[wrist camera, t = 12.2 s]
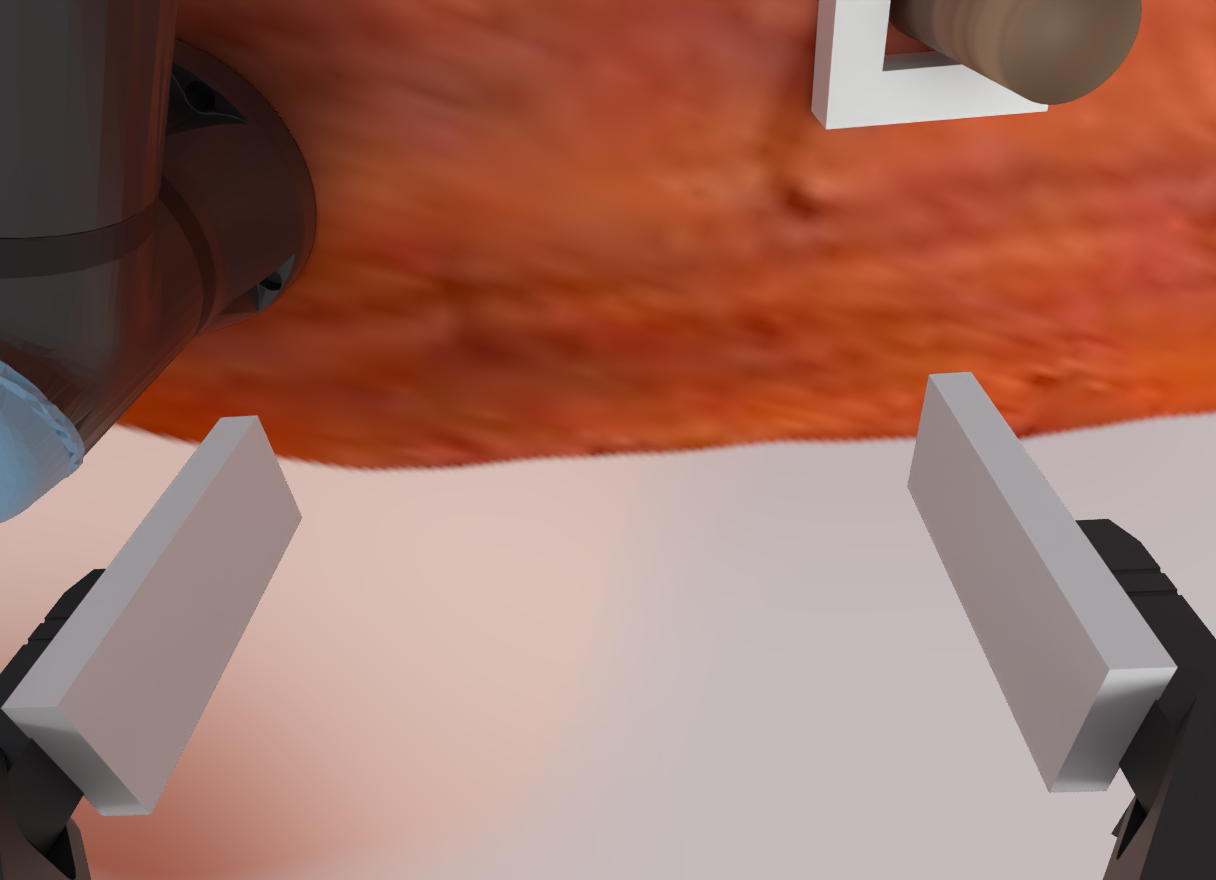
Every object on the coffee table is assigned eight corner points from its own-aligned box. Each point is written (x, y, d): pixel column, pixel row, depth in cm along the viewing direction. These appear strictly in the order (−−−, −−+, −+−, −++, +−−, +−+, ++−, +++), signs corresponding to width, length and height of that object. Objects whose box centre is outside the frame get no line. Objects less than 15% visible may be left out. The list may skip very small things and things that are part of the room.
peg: (879, 40, 36) (993, 110, 25) (889, -59, 34) (1019, -31, 23) (965, 30, 36) (1119, 98, 25) (981, -70, 34) (1159, -47, 22)
